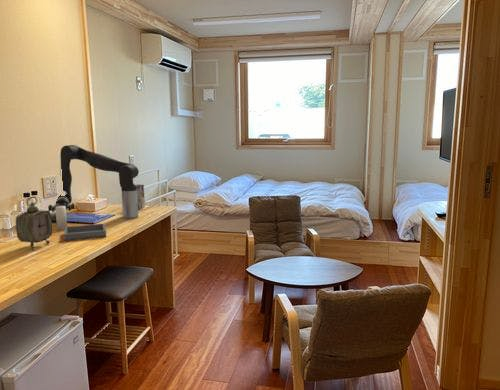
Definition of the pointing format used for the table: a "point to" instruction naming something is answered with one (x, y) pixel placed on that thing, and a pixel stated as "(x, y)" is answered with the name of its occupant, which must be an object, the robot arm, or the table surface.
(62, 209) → the canister
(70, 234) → the tray
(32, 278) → the table surface
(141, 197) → the coffee box
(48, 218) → the tabletop clock
